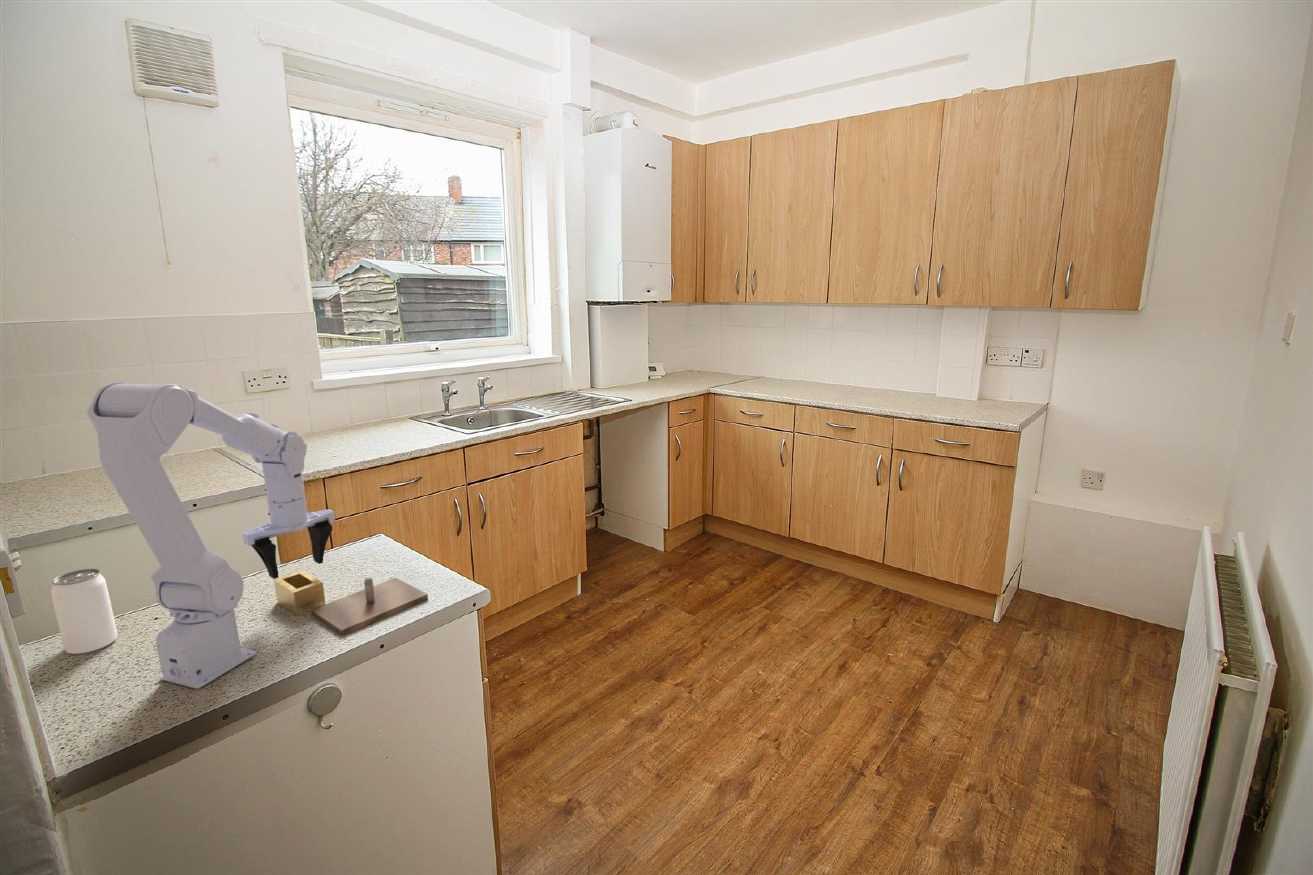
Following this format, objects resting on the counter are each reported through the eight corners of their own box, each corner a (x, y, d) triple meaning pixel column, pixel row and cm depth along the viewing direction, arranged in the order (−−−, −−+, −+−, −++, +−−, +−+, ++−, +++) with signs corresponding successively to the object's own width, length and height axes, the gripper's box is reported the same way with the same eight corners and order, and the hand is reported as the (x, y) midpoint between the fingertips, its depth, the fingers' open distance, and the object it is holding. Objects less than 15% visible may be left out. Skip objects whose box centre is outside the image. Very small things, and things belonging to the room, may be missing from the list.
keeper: (342, 635, 104) (338, 604, 103) (311, 614, 111) (307, 585, 109) (428, 599, 117) (425, 570, 115) (395, 582, 123) (393, 555, 122)
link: (325, 604, 114) (322, 582, 113) (296, 615, 110) (293, 592, 109) (305, 592, 119) (302, 570, 118) (277, 602, 115) (273, 579, 114)
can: (128, 634, 104) (114, 568, 102) (90, 657, 98) (74, 586, 95) (93, 632, 105) (78, 566, 102) (53, 654, 99) (36, 584, 96)
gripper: (249, 514, 102) (262, 590, 105) (339, 491, 113) (347, 561, 116) (233, 505, 106) (245, 578, 109) (320, 484, 117) (329, 551, 121)
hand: (296, 569), depth 113 cm, fingers open, 7 cm apart
